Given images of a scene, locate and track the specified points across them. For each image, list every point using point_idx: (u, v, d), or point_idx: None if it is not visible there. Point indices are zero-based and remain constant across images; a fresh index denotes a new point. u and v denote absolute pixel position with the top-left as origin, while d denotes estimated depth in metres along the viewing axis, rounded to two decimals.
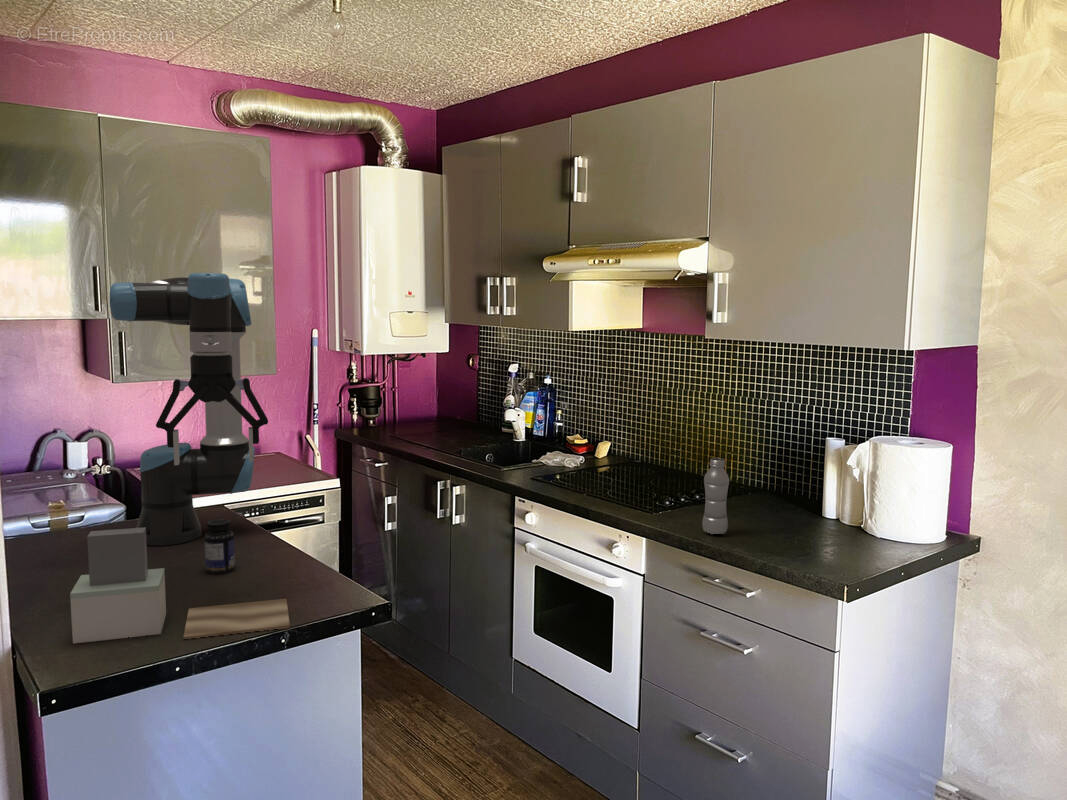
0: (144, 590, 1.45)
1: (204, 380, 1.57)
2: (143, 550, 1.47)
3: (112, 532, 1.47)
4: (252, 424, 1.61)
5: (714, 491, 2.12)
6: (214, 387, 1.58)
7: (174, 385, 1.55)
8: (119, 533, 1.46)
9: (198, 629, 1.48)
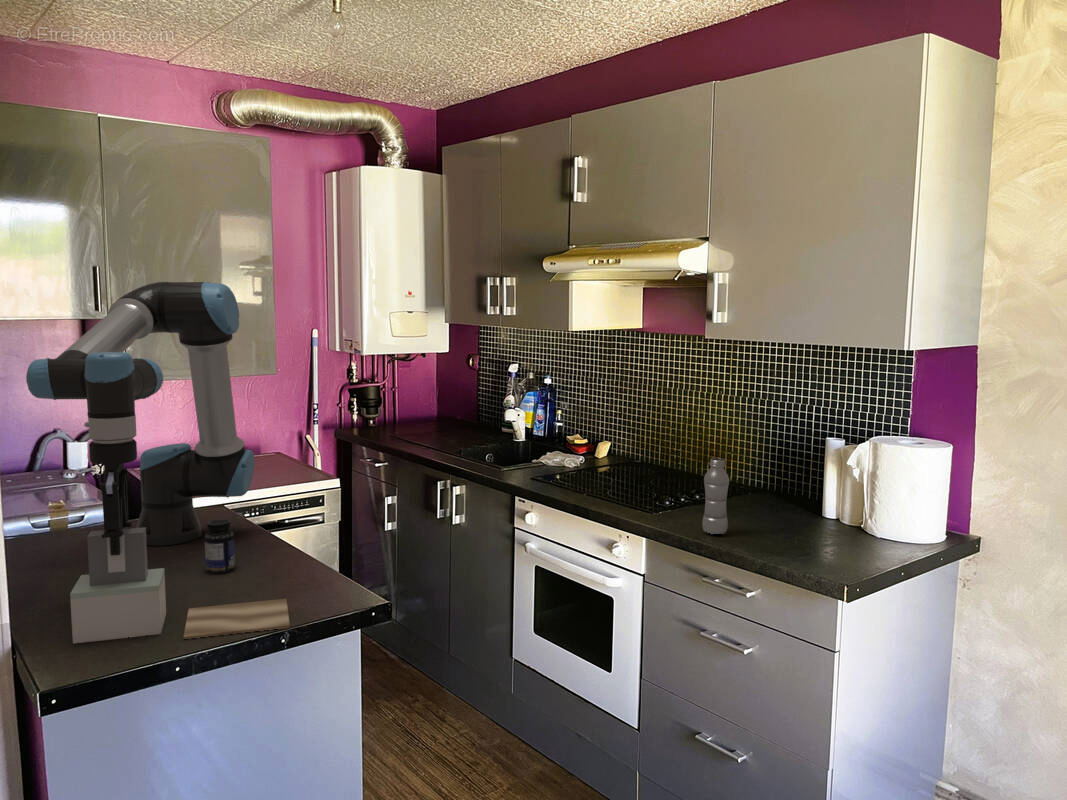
0: (144, 590, 1.45)
1: None
2: (143, 550, 1.47)
3: None
4: None
5: (714, 491, 2.12)
6: None
7: None
8: None
9: (198, 629, 1.48)
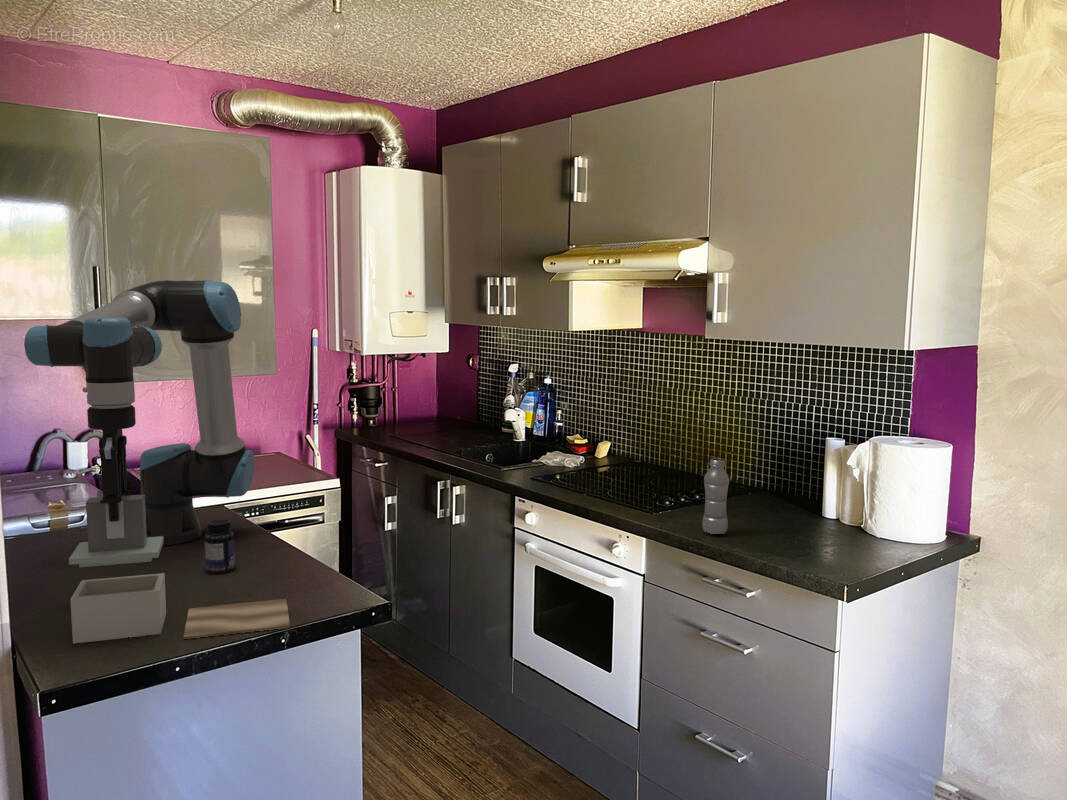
0: (143, 556, 1.44)
1: None
2: (142, 517, 1.47)
3: None
4: None
5: (714, 491, 2.12)
6: None
7: None
8: None
9: (198, 629, 1.48)
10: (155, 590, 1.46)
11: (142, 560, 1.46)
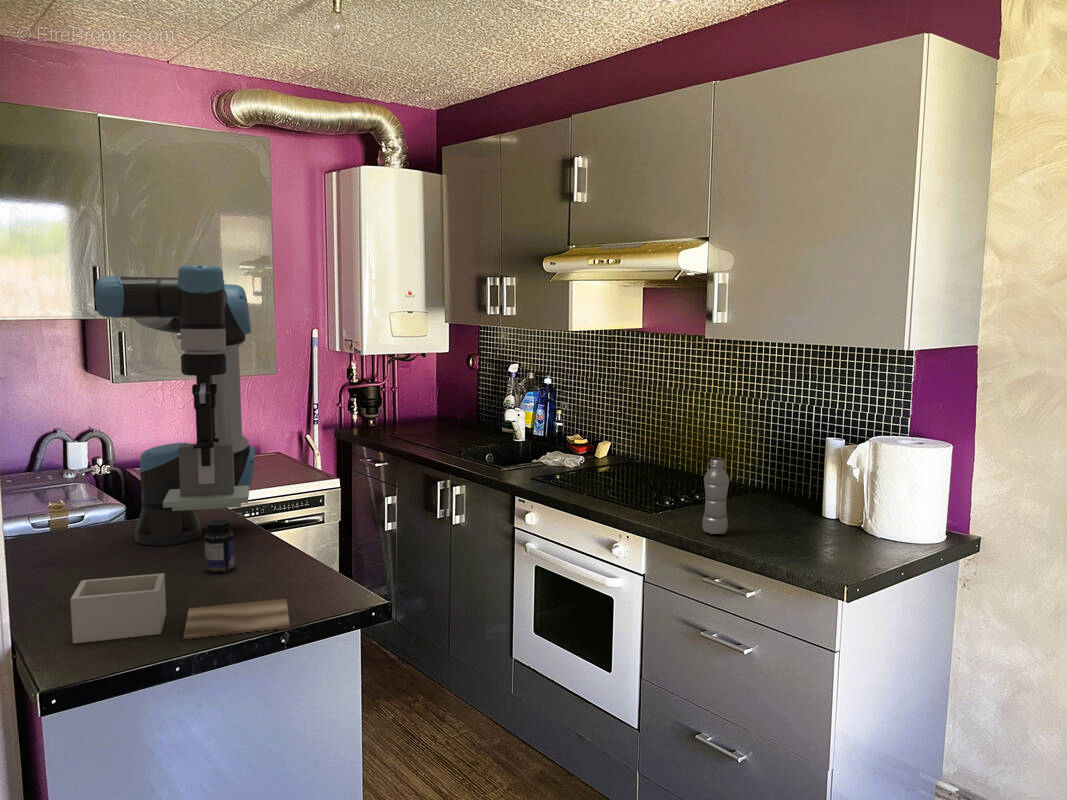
0: (233, 501, 1.46)
1: None
2: (232, 463, 1.49)
3: None
4: None
5: (714, 491, 2.12)
6: None
7: None
8: None
9: (198, 629, 1.48)
10: (155, 590, 1.46)
11: (232, 505, 1.48)
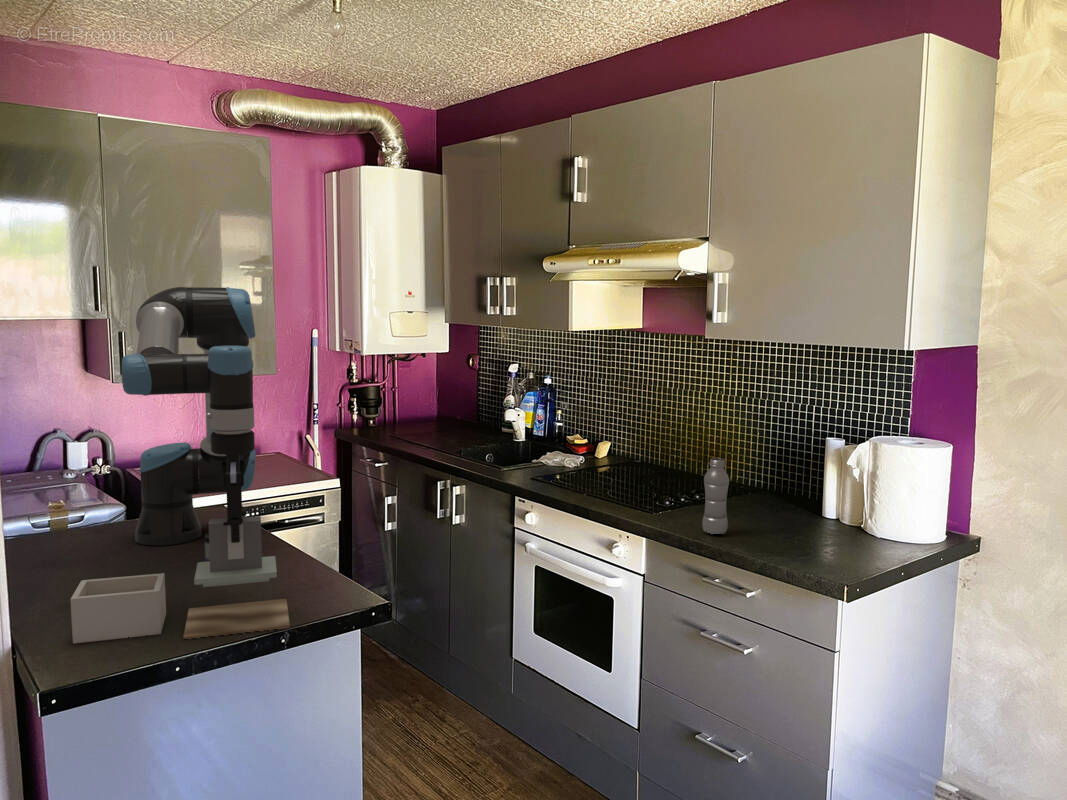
0: (263, 576, 1.50)
1: None
2: (260, 538, 1.52)
3: None
4: None
5: (714, 491, 2.12)
6: None
7: None
8: None
9: (198, 629, 1.48)
10: (155, 590, 1.46)
11: (261, 580, 1.51)
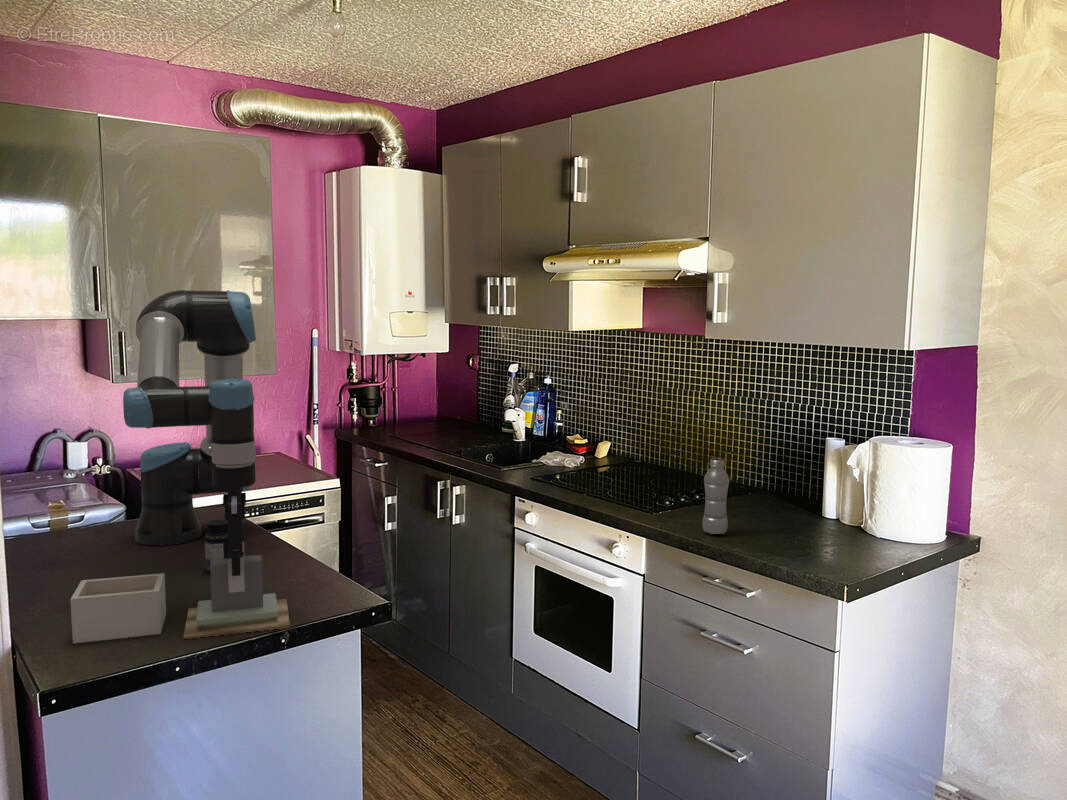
0: (264, 616, 1.51)
1: None
2: (261, 577, 1.53)
3: None
4: None
5: (714, 491, 2.12)
6: None
7: None
8: None
9: (198, 629, 1.48)
10: (155, 590, 1.46)
11: (262, 619, 1.52)
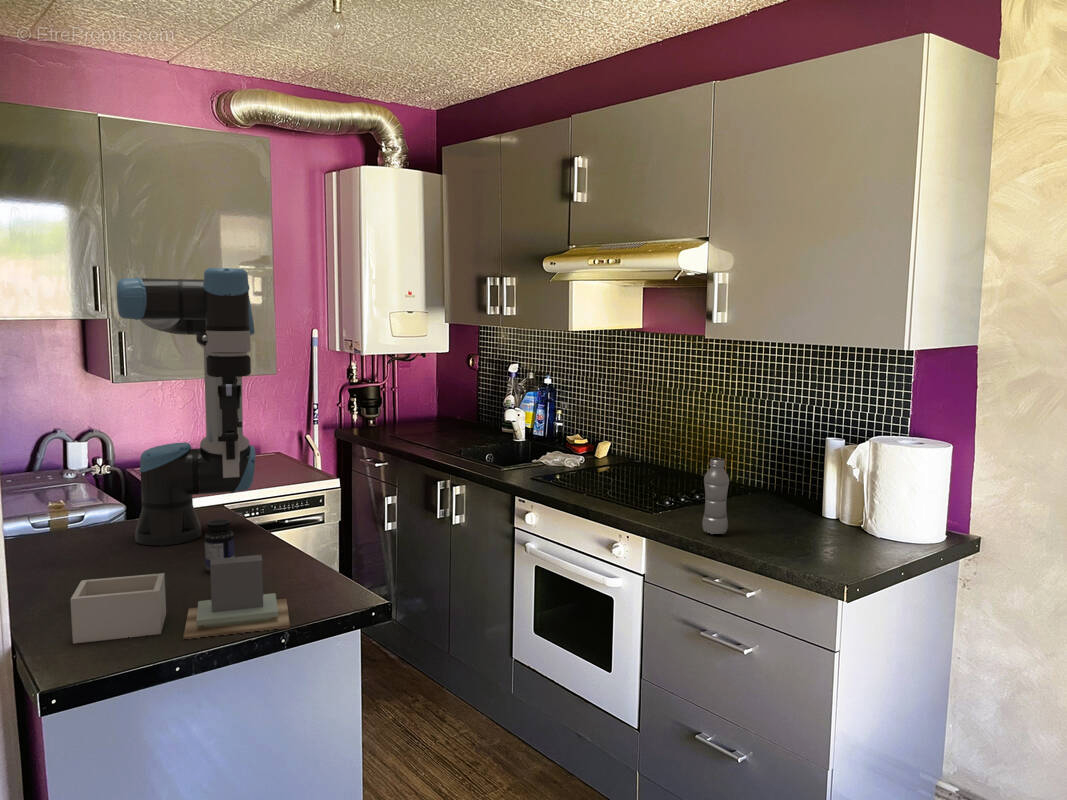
0: (264, 616, 1.51)
1: None
2: (261, 577, 1.53)
3: (232, 560, 1.52)
4: None
5: (714, 491, 2.12)
6: None
7: None
8: (239, 561, 1.52)
9: (198, 629, 1.48)
10: (155, 590, 1.46)
11: (262, 619, 1.52)
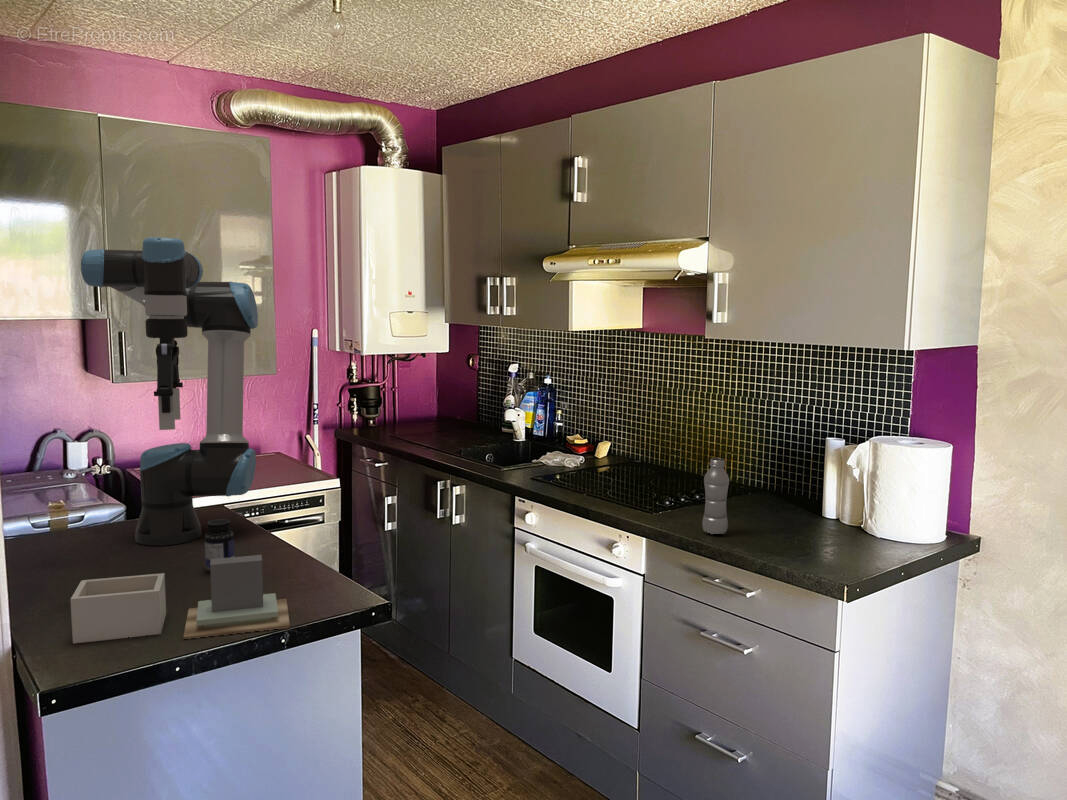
0: (264, 616, 1.51)
1: None
2: (261, 577, 1.53)
3: (232, 560, 1.52)
4: None
5: (714, 491, 2.12)
6: None
7: None
8: (239, 561, 1.52)
9: (198, 629, 1.48)
10: (155, 590, 1.46)
11: (262, 619, 1.52)
